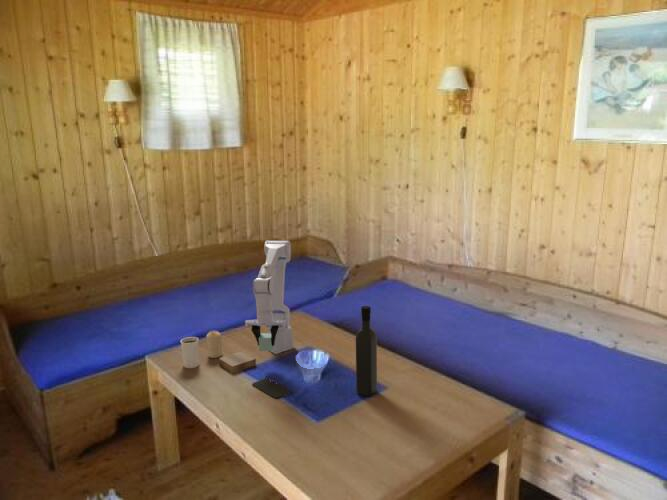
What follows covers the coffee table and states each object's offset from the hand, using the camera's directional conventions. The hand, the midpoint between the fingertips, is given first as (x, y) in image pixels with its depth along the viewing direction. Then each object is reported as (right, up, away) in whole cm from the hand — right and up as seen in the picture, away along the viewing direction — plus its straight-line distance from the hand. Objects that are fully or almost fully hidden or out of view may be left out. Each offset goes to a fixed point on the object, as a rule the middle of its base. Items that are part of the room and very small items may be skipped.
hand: (266, 344), depth 202 cm
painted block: (0, -1, 0) cm, 1 cm away
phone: (+4, -13, -15) cm, 20 cm away
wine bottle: (+36, -13, -19) cm, 43 cm away
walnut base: (-11, -9, +5) cm, 15 cm away
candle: (-22, -7, +14) cm, 27 cm away
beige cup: (-29, -9, +6) cm, 31 cm away
